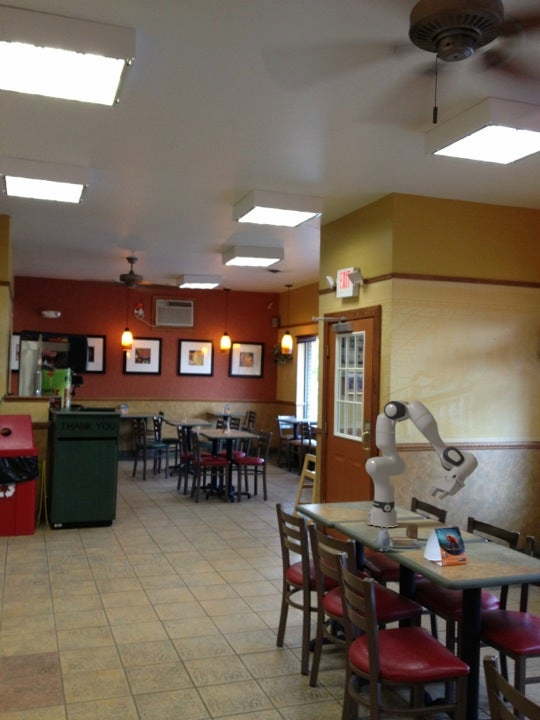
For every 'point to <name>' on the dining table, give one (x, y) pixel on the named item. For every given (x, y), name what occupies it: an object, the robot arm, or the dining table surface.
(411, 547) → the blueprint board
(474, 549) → the dining table surface
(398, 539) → the oak pedestal
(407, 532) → the walnut pillar
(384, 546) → the toy figure
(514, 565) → the dining table surface
